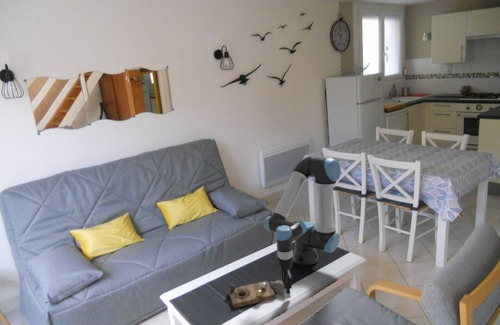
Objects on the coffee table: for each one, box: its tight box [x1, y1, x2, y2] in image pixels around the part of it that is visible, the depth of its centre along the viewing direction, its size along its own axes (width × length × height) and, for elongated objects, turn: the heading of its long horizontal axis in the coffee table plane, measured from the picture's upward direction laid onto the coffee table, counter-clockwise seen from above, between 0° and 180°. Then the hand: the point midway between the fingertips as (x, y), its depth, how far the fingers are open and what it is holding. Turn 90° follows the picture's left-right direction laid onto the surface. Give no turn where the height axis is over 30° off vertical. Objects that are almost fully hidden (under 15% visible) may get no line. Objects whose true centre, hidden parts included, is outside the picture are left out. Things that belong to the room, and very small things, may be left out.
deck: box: [228, 280, 276, 309], centre depth 199 cm, size 22×13×2 cm, turn 104°
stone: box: [269, 279, 285, 296], centre depth 201 cm, size 10×8×6 cm
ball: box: [261, 283, 267, 290], centre depth 200 cm, size 4×4×4 cm
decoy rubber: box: [228, 283, 237, 291], centre depth 201 cm, size 4×4×4 cm
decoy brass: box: [256, 290, 263, 297], centre depth 194 cm, size 4×4×4 cm
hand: (287, 297), depth 194 cm, fingers closed
